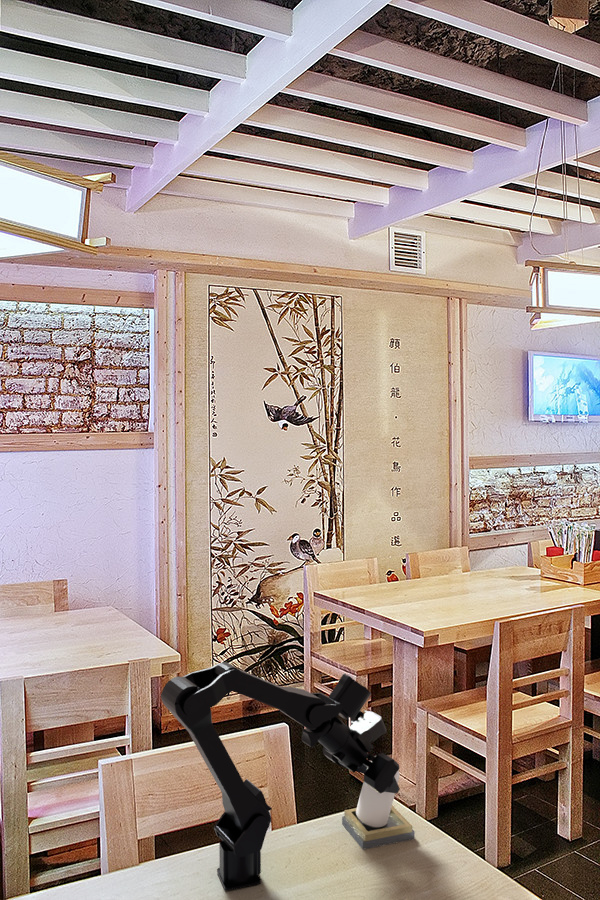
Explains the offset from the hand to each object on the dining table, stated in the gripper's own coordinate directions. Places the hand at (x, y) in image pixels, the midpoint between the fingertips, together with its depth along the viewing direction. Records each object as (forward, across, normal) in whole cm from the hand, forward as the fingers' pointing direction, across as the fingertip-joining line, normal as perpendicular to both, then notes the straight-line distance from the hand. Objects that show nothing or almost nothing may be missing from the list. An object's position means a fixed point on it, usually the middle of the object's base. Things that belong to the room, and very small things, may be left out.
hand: (383, 781), depth 150 cm
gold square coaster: (+6, 0, +8) cm, 10 cm away
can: (+4, +1, +7) cm, 8 cm away
